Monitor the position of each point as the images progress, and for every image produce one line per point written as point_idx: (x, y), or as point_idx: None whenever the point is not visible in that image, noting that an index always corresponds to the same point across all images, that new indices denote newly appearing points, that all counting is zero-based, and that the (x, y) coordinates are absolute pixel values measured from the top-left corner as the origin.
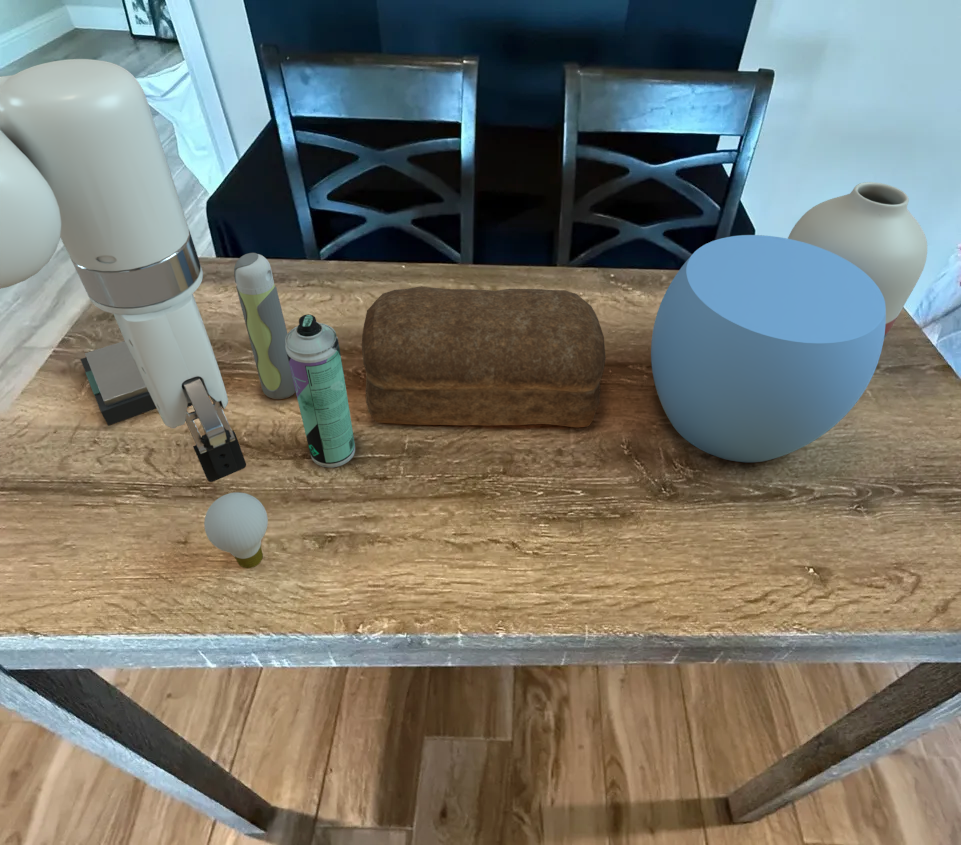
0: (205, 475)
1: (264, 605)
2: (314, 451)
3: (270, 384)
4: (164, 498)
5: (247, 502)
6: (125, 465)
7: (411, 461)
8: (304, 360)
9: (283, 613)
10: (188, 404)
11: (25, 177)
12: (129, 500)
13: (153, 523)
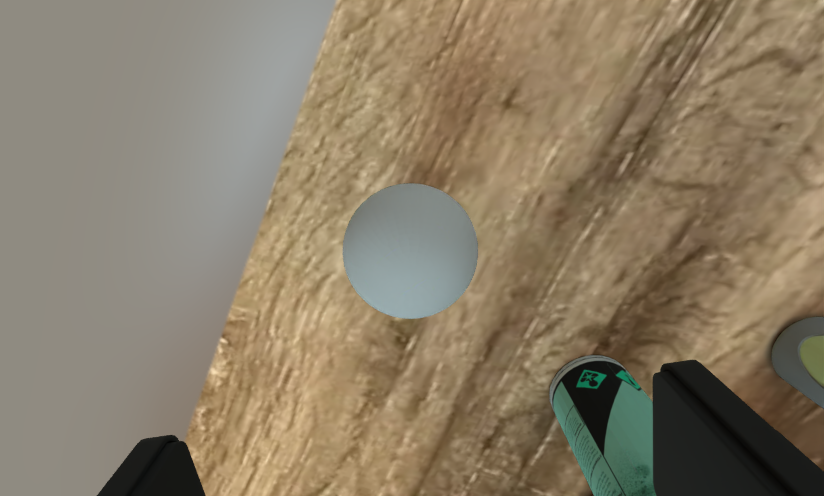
0: (142, 454)
1: (312, 214)
2: (585, 381)
3: (817, 351)
4: (642, 77)
5: (407, 308)
6: (787, 3)
7: (501, 488)
8: None
9: (285, 240)
10: (658, 432)
11: None
12: (677, 2)
13: (586, 47)
